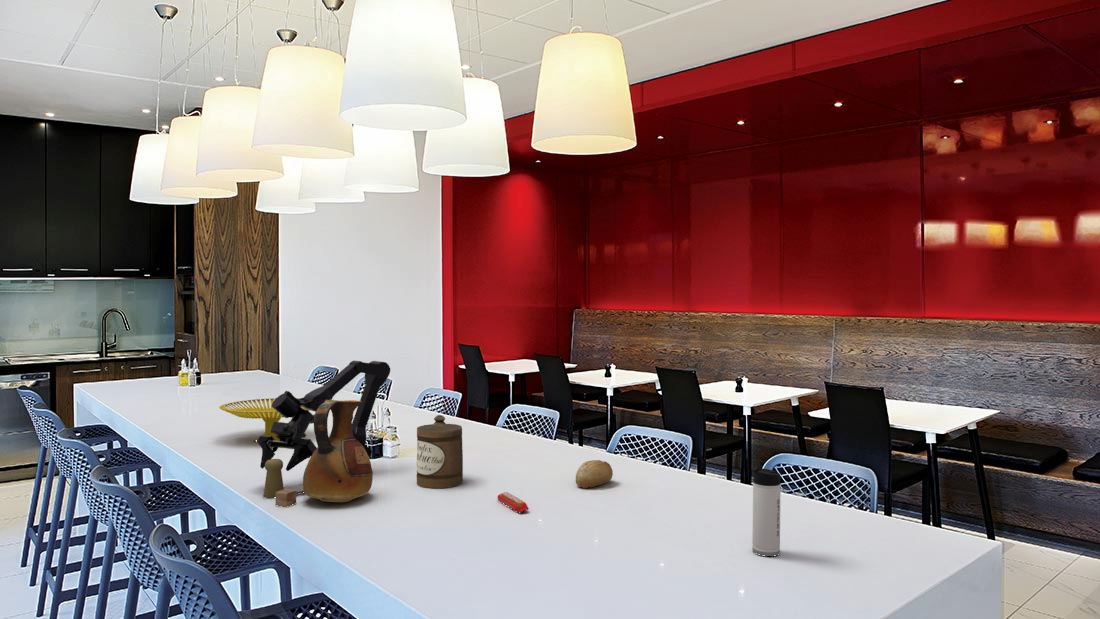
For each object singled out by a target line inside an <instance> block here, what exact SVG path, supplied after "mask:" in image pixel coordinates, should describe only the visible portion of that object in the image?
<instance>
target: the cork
mask: <svg viewBox="0 0 1100 619" xmlns="http://www.w3.org/2000/svg"><path fill="white" fill-rule="evenodd" d="M283 467H284V462H283V460H282V459H280V458H272V459H270V460H268V461H266V463H265V467H264V469H265V471H266V476H265V480H264V488H263V496H264V497H266V498H265V499H275V498H274V497H276V492H278V491H281V490H284V487H285V486H284V481H283V473H282V470H283ZM264 497H263V498H264Z"/></svg>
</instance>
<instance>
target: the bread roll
mask: <svg viewBox="0 0 1100 619" xmlns="http://www.w3.org/2000/svg"><path fill="white" fill-rule="evenodd" d="M613 471H614V470H613V469H612V466H611V465H610V463H609V462H608V461H605V460H604V461H602V460H600V459H596V460H595V459H594V460H593V459H591V460H587V461H585V462H583V463H582V464H581V465H580V466H579V467H578V468H577V471H576V473H575V484H576V485H577V487H579V488H580V487H584V488H583V489H589V488H588V487H590V488H593V487H597V486H600V485H602V484H605V483H610V481H611V480H612V479H613Z"/></svg>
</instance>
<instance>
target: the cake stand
mask: <svg viewBox="0 0 1100 619" xmlns="http://www.w3.org/2000/svg"><path fill="white" fill-rule="evenodd" d="M276 398H277V397H273V398H258V399H257V398H255V399H245V400H239V401H234V402H232V401H231V402H228V403H224V404H221V405H220V406H219V407H218V408H219V409H220V410H221V411H225V412H226V413H229V414H231V415H234V416H236V417H238V418H243V419H262V420H263V422H264V428H265V429H264V430H265V431H264V434H263V435H265V436H272V437H273V438H274V440H275V441H279V440H280V439H278V438H277V437H276V436H277V434H275V433H271V432H270V431H271V428H272V425H273V422H280V420H281V419H282V418H285V417H283V416H282V415H281V414H280V413H279V412H277V411H276V410H275V409H274V408H272V403H273V401H274V400H275V399H276ZM295 398H296V399H300V398H301V397H300V398H297V397H295ZM253 403H254V404H253ZM262 405H263V406H262ZM301 408H302V409H304V410H307V409H306V408H304V407H301ZM308 411H309V412H310V410H308ZM259 437H260V436H258V437H256V438H255V439H256V440H258V438H259Z"/></svg>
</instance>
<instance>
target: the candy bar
mask: <svg viewBox="0 0 1100 619" xmlns="http://www.w3.org/2000/svg"><path fill="white" fill-rule="evenodd" d="M497 500H499V501H500V502H502V503H504V504H505V505H507V506H509V507H510V508H512V509H513V510H515V511H517V512H522V513H523V511H524V512H526V511H528V510H529V507H528V504H527V503H526V502H525V501H524V500H523V499H521V498H518V497H516V496H515V495H514V494H511V493H509V492H508V491H504V492H502V493H499V494H498V495H497ZM499 501H498V502H499ZM500 502H499V503H500ZM502 503H501V504H502ZM505 505H504V506H505ZM507 506H506V507H507ZM510 508H509V509H510ZM513 510H512V511H513ZM515 511H514V512H515Z"/></svg>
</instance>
